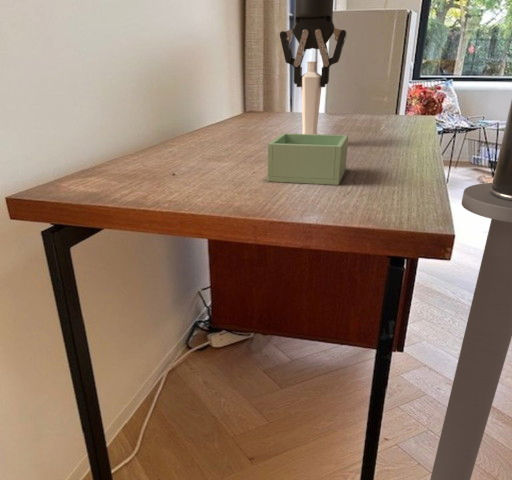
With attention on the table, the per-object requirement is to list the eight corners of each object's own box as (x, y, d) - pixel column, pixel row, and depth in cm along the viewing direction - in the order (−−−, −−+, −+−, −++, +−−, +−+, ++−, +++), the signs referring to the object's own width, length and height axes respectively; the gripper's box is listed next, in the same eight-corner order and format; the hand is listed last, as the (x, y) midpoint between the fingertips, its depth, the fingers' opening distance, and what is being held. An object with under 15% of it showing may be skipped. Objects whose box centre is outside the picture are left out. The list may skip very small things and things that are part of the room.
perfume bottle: (320, 137, 113) (323, 61, 106) (319, 140, 110) (322, 61, 102) (299, 136, 114) (301, 61, 106) (298, 139, 110) (300, 62, 103)
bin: (345, 170, 89) (348, 135, 86) (338, 185, 79) (341, 146, 76) (281, 167, 92) (282, 133, 89) (267, 181, 82) (267, 143, 79)
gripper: (275, -11, 97) (274, 88, 105) (349, -14, 93) (343, 88, 102) (282, -7, 103) (281, 86, 111) (353, -10, 100) (346, 86, 108)
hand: (311, 86), depth 107 cm, fingers closed on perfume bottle, 4 cm apart
